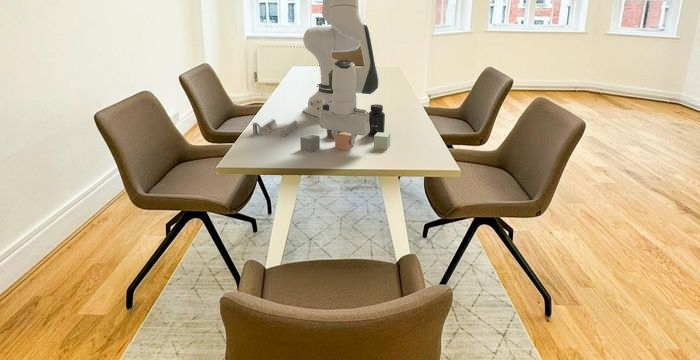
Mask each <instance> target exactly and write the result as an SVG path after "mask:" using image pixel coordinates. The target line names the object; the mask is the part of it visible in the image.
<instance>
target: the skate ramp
mask: <svg viewBox="0 0 700 360" xmlns="http://www.w3.org/2000/svg"><path fill="white" fill-rule="evenodd" d="M278 127H279V124H277V121H276V119H269V121H267V122H265V123H263V124H261V125H260V124H259V123H258V122H253V123H252V135H254V136H256V134H258V135H259V136H264V137H265V136H267V135H269V133H271V132H272V131H274V130H275V129H277V128H278ZM297 128H298V122H297V119H294V121H292V122H291V123H289V124H288V125H287V126H285V127H284V128H283V129H281V133H280V135H278V137H279V138H285V137H287V136H288V135H289V134H291V132H293V131H294V130H295V129H297Z"/></svg>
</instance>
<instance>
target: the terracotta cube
mask: <svg viewBox="0 0 700 360" xmlns="http://www.w3.org/2000/svg"><path fill="white" fill-rule="evenodd" d="M352 137H353V136H351V133H345V132H341V133H339V134H337V135H335V142H334V146H335V147H334V148H335V149H336V150H341V151H348V150H350V149H353V148H354V146H355V144H354V145H349V140H350V139H352ZM352 147H353V148H352Z"/></svg>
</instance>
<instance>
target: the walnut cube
mask: <svg viewBox="0 0 700 360" xmlns="http://www.w3.org/2000/svg"><path fill="white" fill-rule="evenodd" d="M339 133H341V132H340V131H338V132H337V134H339ZM326 136H328V138H330V139H332V140H334V136H333V135H332V130H328V129H326Z"/></svg>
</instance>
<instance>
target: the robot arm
mask: <svg viewBox="0 0 700 360" xmlns="http://www.w3.org/2000/svg"><path fill="white" fill-rule="evenodd" d="M321 10H322V11H321V16H322V18H323V19H324V20H325V22H327V23H328V24H330V26H315V27H311V28H307V30H306V31H305V32H304V35H303V38H302V39H303V45H304V47H305V49H306V50H307V51H308V52H310V53H311V54H312V55H313V56H314V58H316V60H317V63H318V65H319V71H320V83H318V84H316V85H317V86H316V88H318V90H317V92H315V93H313V95H311V96H310V97H309V99H308V102H307V107H305V108H302V112H303V113H306V114H308V115H310V116H314V117H317V118H318V119H319V126H320V128H321V129H322V130H327V129H328V130H332V135H333V136H334V139H333V141H334V143H335V135H337V132H338V131H340V132H344V133H350V134H351V136H353V137H352V139H350V140H349V145H354V146H355V143H356V142H355V141H356V139H357V138H358V136H367V135H368V133H369V132H370V123H369V111H367V110H366V109H360V108H357V95H356V94H365V95H371V94H374V92H375V91H376V90H378V89H379V88H378V87H379V85H380V77H379V73H378V71H377V68H376V67H377V66H376V62H375V57H374V51H373V50H374V49H373V47H372V46H373V45H372V40H371V35H370V31H369V28H368V27H369V26H368V25H367V23H366V22H364V21H363V20H362V18H361V16H360V13H359V0H322V9H321ZM359 48H360V49H361V54H362V59H363V66H356V65H355V62H354V61H351V60H349V59H340V60H338V59H335V58H334V57H333V53H348V52H352V51H357V50H358V49H359Z"/></svg>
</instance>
